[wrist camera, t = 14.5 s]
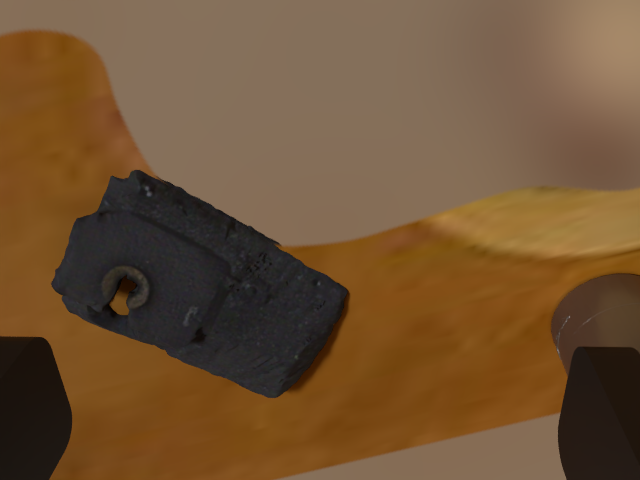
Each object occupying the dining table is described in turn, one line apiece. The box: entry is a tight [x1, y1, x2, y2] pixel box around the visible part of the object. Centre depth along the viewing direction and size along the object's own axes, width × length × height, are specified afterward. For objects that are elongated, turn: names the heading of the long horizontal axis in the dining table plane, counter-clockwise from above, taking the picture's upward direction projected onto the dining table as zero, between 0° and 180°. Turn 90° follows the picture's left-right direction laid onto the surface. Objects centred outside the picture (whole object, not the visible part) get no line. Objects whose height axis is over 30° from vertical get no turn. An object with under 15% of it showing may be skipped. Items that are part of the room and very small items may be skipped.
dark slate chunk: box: [51, 170, 347, 398], centre depth 49 cm, size 15×22×5 cm
